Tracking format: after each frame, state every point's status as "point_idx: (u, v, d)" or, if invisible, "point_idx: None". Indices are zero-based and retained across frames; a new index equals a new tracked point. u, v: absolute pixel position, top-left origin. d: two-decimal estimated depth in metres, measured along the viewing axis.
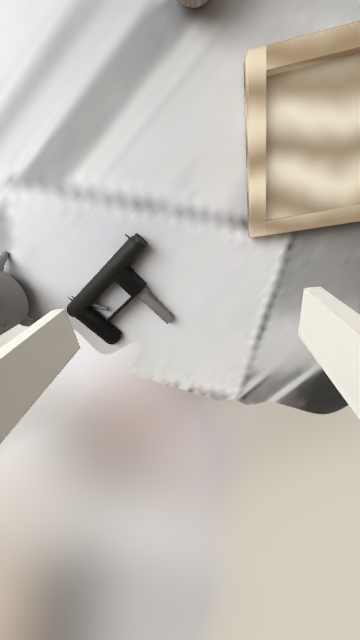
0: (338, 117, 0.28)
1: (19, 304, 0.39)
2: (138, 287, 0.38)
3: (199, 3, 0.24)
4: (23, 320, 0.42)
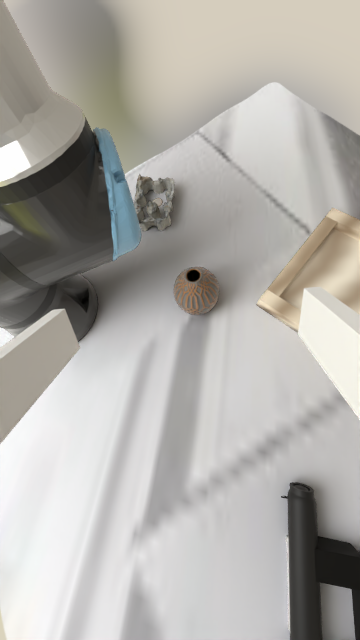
0: (342, 276, 0.34)
1: None
2: (357, 564, 0.24)
3: None
4: None
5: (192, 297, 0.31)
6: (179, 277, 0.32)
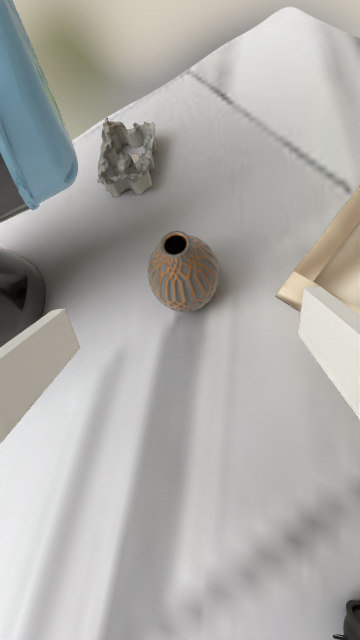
0: None
1: None
2: None
3: None
4: None
5: (175, 283, 0.19)
6: (154, 251, 0.20)
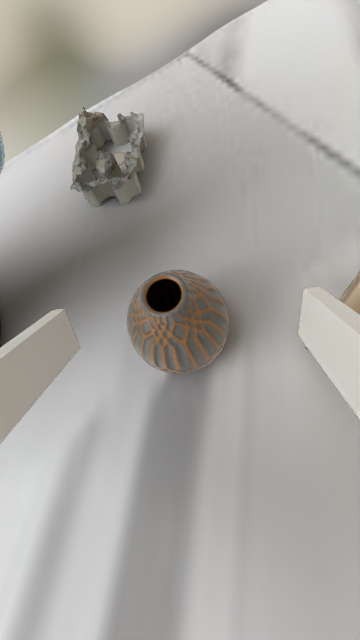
0: None
1: None
2: None
3: None
4: None
5: (164, 349, 0.12)
6: (135, 296, 0.13)
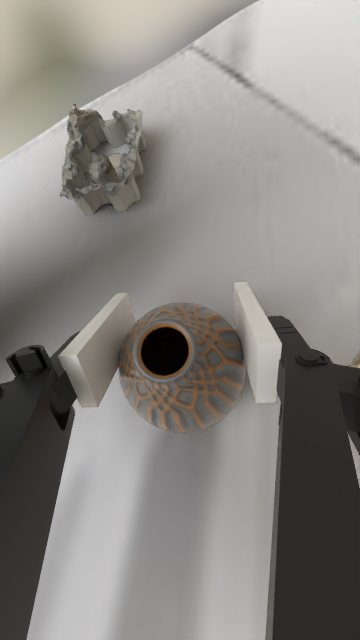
0: None
1: None
2: None
3: None
4: None
5: (165, 414, 0.09)
6: (128, 339, 0.10)
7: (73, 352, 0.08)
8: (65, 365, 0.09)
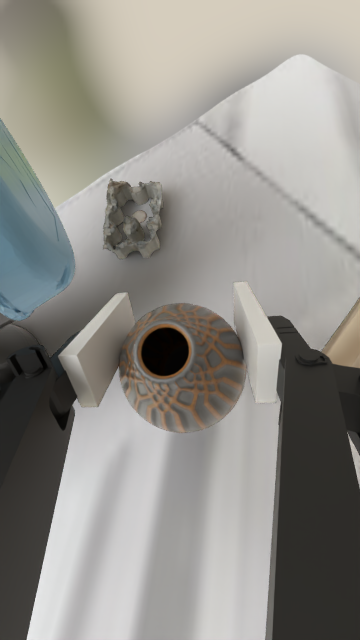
0: None
1: None
2: None
3: None
4: None
5: (165, 414, 0.09)
6: (128, 340, 0.10)
7: (73, 352, 0.08)
8: (65, 365, 0.09)
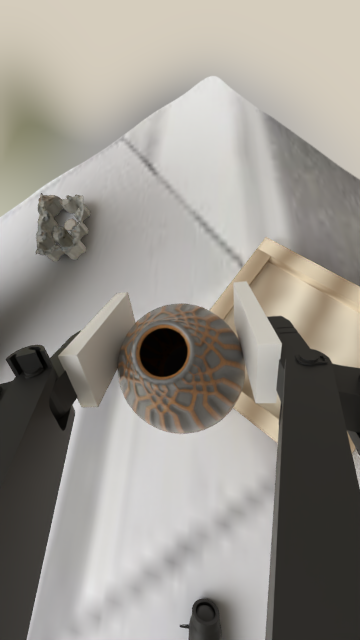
0: None
1: None
2: None
3: None
4: None
5: (164, 416, 0.09)
6: (127, 340, 0.10)
7: (73, 352, 0.08)
8: (65, 365, 0.09)
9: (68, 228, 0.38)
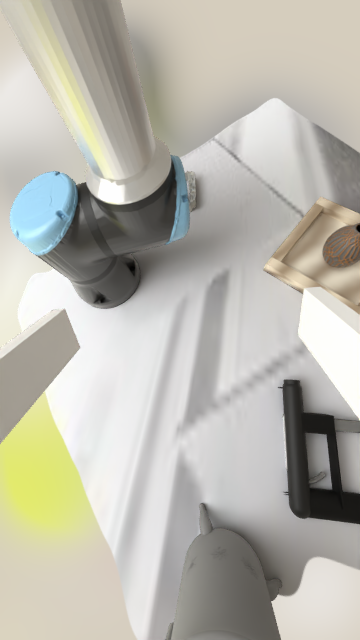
0: None
1: (256, 560, 0.31)
2: (329, 419, 0.36)
3: None
4: (267, 589, 0.30)
5: (356, 247, 0.38)
6: (341, 232, 0.39)
7: None
8: None
9: None
